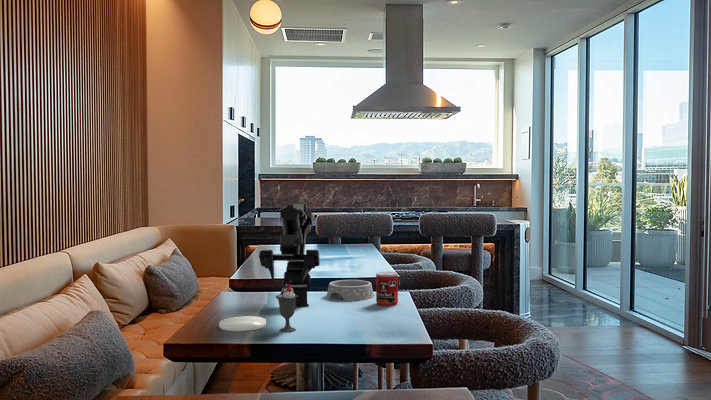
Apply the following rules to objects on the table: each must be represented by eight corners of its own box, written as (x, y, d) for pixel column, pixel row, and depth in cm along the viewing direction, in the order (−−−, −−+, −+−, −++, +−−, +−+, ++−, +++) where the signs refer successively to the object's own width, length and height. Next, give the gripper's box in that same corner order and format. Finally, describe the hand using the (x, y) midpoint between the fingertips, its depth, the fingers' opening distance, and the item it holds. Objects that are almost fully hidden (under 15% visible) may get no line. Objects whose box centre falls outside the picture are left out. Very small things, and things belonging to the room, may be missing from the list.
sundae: (295, 333, 165) (294, 281, 164) (273, 332, 166) (272, 281, 165) (301, 327, 171) (301, 277, 171) (280, 326, 172) (279, 277, 172)
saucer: (257, 318, 184) (257, 314, 184) (272, 327, 172) (272, 323, 171) (214, 323, 177) (214, 319, 177) (226, 333, 165) (225, 329, 165)
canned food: (373, 305, 202) (372, 274, 201) (380, 300, 209) (380, 270, 209) (393, 307, 199) (393, 275, 198) (400, 302, 206) (400, 272, 206)
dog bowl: (344, 290, 231) (344, 277, 231) (382, 295, 220) (382, 281, 220) (317, 297, 217) (317, 283, 217) (356, 303, 206) (356, 288, 206)
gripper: (259, 224, 181) (253, 265, 170) (318, 224, 180) (315, 264, 170) (264, 246, 189) (258, 286, 179) (320, 245, 189) (318, 285, 178)
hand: (287, 280), depth 176 cm, fingers open, 9 cm apart
